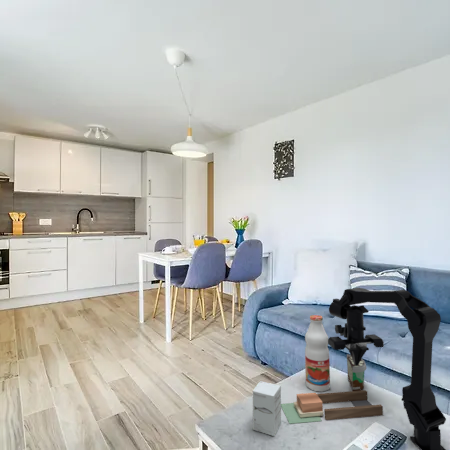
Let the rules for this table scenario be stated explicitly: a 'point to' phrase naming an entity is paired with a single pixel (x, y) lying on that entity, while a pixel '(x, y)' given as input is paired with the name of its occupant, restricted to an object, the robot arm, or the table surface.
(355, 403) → the trap pit
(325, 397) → the channel
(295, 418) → the pad
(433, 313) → the robot arm
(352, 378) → the food container
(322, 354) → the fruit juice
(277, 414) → the supplement box
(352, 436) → the table surface
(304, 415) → the block
